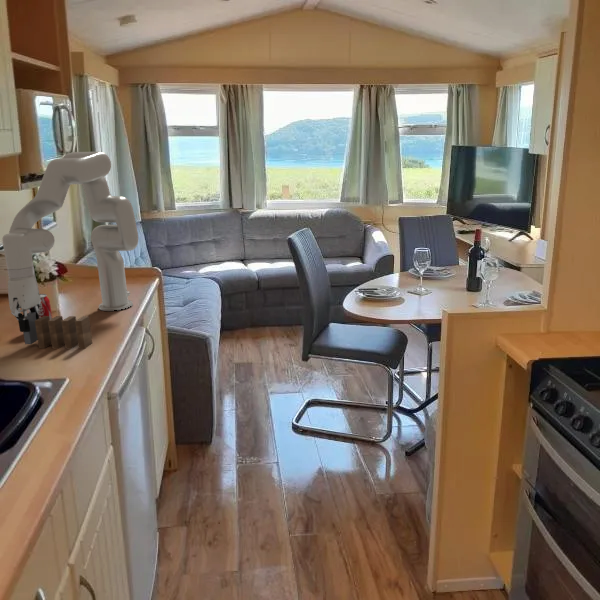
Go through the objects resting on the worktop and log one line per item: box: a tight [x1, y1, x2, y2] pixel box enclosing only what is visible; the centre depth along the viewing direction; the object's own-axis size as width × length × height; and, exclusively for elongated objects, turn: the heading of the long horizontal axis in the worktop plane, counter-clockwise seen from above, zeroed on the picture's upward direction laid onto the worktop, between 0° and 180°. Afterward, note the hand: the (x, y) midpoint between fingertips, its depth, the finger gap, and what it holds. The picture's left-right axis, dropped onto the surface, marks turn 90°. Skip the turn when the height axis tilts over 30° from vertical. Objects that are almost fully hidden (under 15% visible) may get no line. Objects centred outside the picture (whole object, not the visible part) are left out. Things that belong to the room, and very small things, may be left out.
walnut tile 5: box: [75, 315, 93, 350], centre depth 195 cm, size 2×5×9 cm, turn 171°
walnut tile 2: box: [35, 316, 52, 349], centre depth 197 cm, size 2×5×9 cm, turn 171°
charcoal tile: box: [22, 311, 38, 345], centre depth 197 cm, size 2×5×9 cm, turn 171°
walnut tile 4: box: [62, 315, 78, 349], centre depth 195 cm, size 2×5×9 cm, turn 172°
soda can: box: [39, 293, 53, 320], centre depth 213 cm, size 7×7×12 cm
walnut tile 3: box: [48, 315, 65, 349], centre depth 196 cm, size 2×5×9 cm, turn 171°
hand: (30, 328), depth 197 cm, fingers closed on charcoal tile, 4 cm apart
